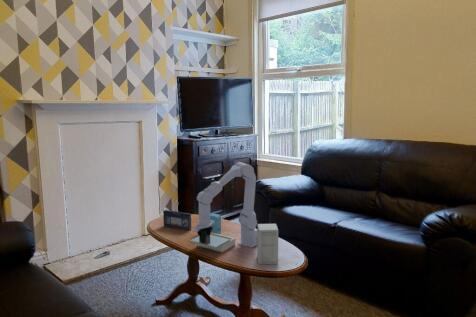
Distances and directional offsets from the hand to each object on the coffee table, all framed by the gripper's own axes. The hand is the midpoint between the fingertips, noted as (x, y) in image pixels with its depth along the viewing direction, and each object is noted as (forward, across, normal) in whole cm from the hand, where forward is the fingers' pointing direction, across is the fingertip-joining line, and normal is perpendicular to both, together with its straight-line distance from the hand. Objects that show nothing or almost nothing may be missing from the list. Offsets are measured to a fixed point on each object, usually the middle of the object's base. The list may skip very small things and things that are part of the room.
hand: (204, 241), depth 189 cm
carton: (+5, -10, 0) cm, 11 cm away
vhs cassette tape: (+6, -20, -36) cm, 41 cm away
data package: (+6, -22, -13) cm, 26 cm away
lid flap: (+1, -4, 0) cm, 5 cm away
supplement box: (+6, -9, +31) cm, 33 cm away
